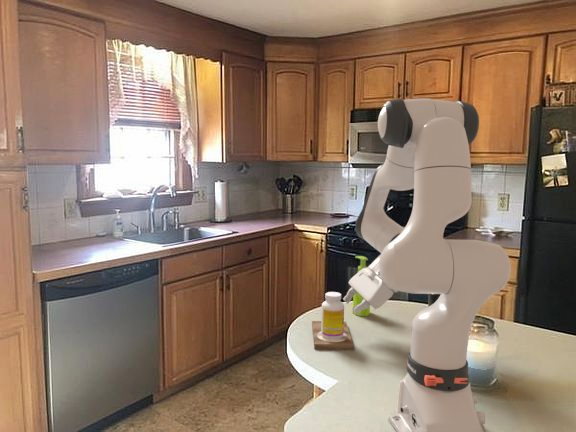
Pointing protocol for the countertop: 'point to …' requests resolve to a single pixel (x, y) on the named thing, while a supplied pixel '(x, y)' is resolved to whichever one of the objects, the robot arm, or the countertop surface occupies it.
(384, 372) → the countertop surface
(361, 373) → the countertop surface
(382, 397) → the countertop surface
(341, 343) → the board
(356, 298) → the soap dispenser
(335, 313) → the supplement bottle
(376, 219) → the robot arm
